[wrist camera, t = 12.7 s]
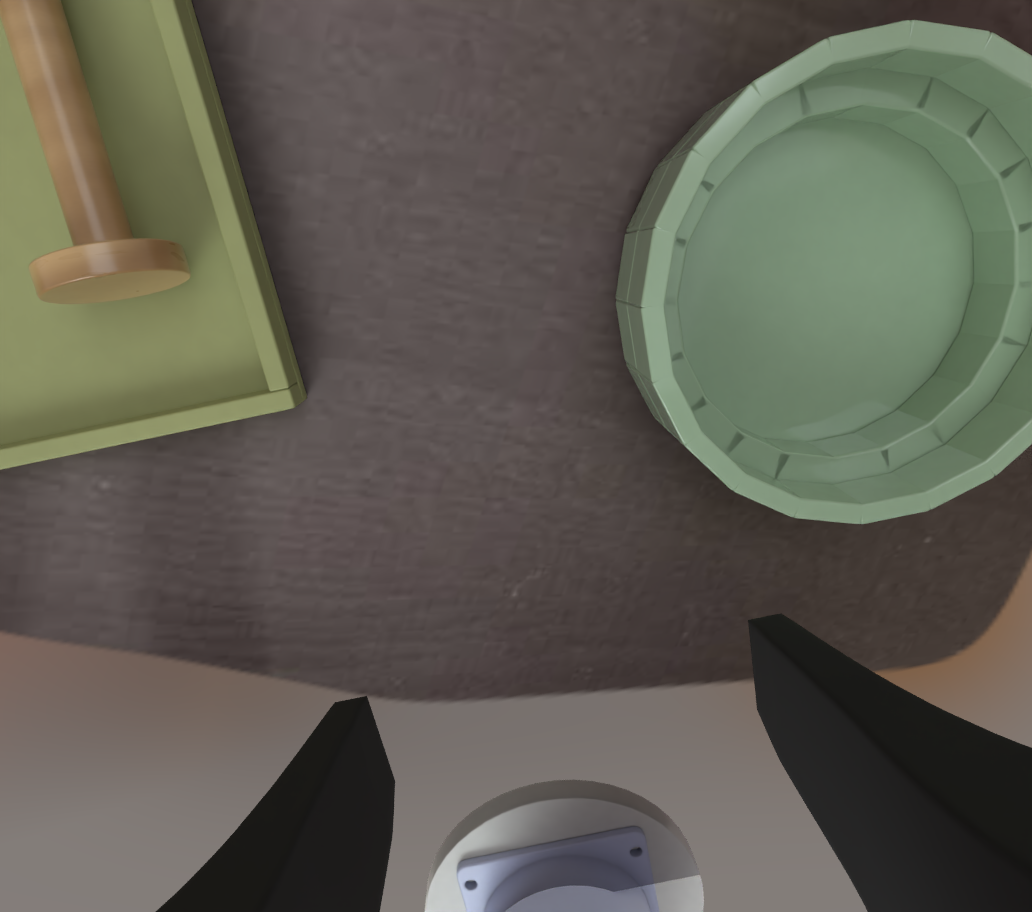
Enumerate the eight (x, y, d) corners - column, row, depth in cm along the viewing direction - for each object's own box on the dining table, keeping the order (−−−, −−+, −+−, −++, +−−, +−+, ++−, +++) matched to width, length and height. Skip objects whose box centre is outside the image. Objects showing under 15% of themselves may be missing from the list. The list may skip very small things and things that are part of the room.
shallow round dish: (1009, 437, 23) (1114, 473, 19) (646, 512, 23) (678, 562, 19) (1008, 26, 20) (1136, -31, 16) (583, 117, 20) (607, 83, 16)
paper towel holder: (162, 262, 17) (39, -149, 15) (6, 295, 16) (-135, -123, 15) (208, 281, 20) (111, -51, 19) (81, 309, 20) (-28, -27, 18)
